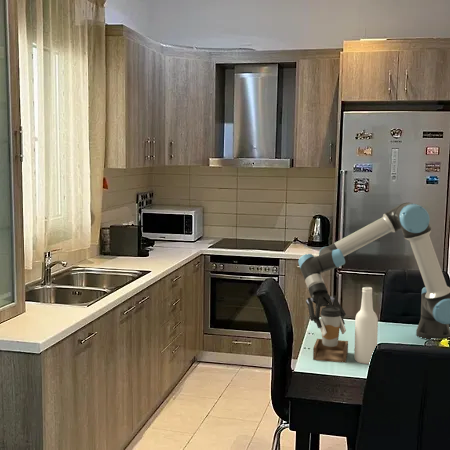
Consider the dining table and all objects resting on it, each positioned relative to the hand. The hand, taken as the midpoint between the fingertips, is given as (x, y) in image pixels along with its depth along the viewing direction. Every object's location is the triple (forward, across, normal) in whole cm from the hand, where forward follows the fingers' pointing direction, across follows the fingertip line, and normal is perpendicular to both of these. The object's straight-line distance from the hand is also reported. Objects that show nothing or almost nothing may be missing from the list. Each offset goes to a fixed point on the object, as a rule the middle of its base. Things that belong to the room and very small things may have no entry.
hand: (334, 333), depth 241 cm
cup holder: (+5, 0, -10) cm, 11 cm away
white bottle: (+12, -11, -3) cm, 16 cm away
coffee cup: (+2, 0, -6) cm, 7 cm away
